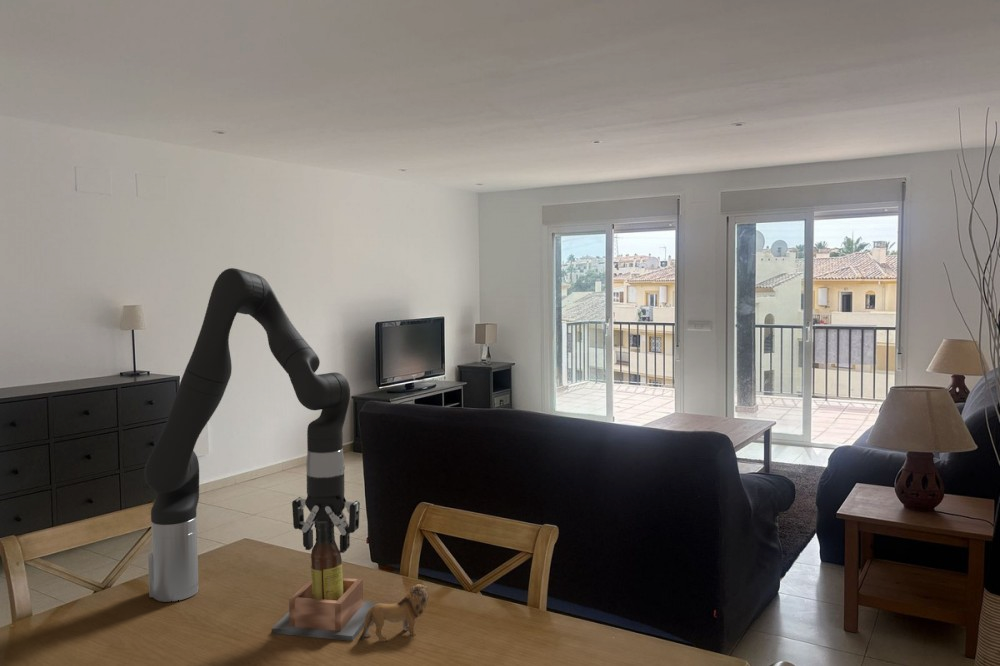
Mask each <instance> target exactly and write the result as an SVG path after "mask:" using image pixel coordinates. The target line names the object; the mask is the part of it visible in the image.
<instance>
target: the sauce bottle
mask: <svg viewBox="0 0 1000 666" xmlns="http://www.w3.org/2000/svg"><path fill="white" fill-rule="evenodd" d="M314 528H315V543H314V544H313V548H311V553H310V555H311V556H310V558H311V559H310V560H311V562H310V563H311V566H310V568H311V569H310V570H311V571H310V572H311V579H312V597H313V599H323V600H335V601H338V599H339V598H340V597H341V596H342V595H343V578H344V577H343V576H344V575H343V559H342V555H341V554H342V553H340V548H339V547H338V544H337V542H336V537H335V525H334V523H333V522H332V521H325V520H322V521H317V519H316V520H315V523H314Z"/></svg>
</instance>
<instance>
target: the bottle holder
mask: <svg viewBox="0 0 1000 666" xmlns="http://www.w3.org/2000/svg"><path fill="white" fill-rule="evenodd" d="M363 581H364V579H361V578H360V579H359V578H348V577H343V595H342V596H341V597H340V598H339V599H338V601H335V600H323V599H313V597H312V578H311V579H309V581H307V582H306V584H304V585H303V586H301V588H300V589H299V590H298V591H297V592H296V593H294V594H293V595H292V596H291V597H290V598H289V599H288V603H289V605H288V606H289V608H288V609H289V611H288V612H287V613H286V614H285V615H283V617H282V618H281V619H280V620H279V621H278V622H276V624H275V625H273V626H272V627H271V634H276V635H286V636H299V637H307V638H308V637H309V638H319V639H327V640H328V639H329V640H339V641H349V642H353V641H354V640H355V639H356V637H357V636H358V635H359V633H360V632H361V631H363V629H364V623H365V618H366V615H367V613H368V611H369V609H370V608H371V607H373V606H374V605H376V604H379V603H380V602H378V601H377V602H376V601H365V600H364V582H363ZM369 618H370V617H369ZM368 621H369V620H368Z"/></svg>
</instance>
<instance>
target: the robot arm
mask: <svg viewBox="0 0 1000 666" xmlns="http://www.w3.org/2000/svg"><path fill="white" fill-rule="evenodd" d="M204 314H205V315H204V318H203V321H202V325H201V328H200V331H199V334H198V336H197V338H196V339H197V340H196V342H195V345H194V347H193V351H192V353H191V354H190V355H191V356H190V357H189V361H187V365H186V366H185V369H184V372H183V375H182V377H181V380H180V382H179V386H178V389H177V391H176V394H175V396H174V400H173V402H172V405H171V408H170V411H169V414H168V416H167V419H166V423H165V426H164V428H163V430H162V433H161V434H160V436H159V438H158V440H157V442H156V444H155V446H154V448H153V450H152V451H151V454H150V455H149V457H148V459H147V461H146V464H145V467H144V471H143V472H144V480H145V483H146V485H147V486H148V488H149V489H150V490H152V492H155V493H156V495H155V499H154V503H153V505H152V507H151V509H150V522H151V523H150V524H151V553H149V554H148V557H147V563H148V564H147V566H148V568H147V569H148V588H149V589H148V592H149V594H148V596H149V598H153V599H154V600H155V601H158V602H163V603H167V602H169V603H171V601H172V602H178V600H179V601H182V600H185V599H189V598H191V597H193V596H195V595H196V594H197V593H198V591H199V561H198V559H199V558H198V556H199V555H198V527H197V525H198V523H197V521H198V520H197V519H198V518H197V508H198V504H199V499H200V466H199V465H200V463H199V458H198V456H197V453H196V452H195V451H194V449H195V448H196V447H195V446H196V443H197V441H198V439H199V437H200V435H201V433H202V431H203V430H204V429H205V427H206V425H207V424H208V422H209V421H210V420H211V418H212V416H213V415H214V413H215V412H216V410H217V408H218V406H219V405H220V403H221V401H222V399H223V397H224V394H225V392H226V389H227V386H228V385H229V381H230V379H231V376H232V368H233V367H232V357H231V356H232V355H231V352H230V345H229V344H230V343H229V340H230V339H229V338H230V333H231V330H232V326H233V322H234V321H235V318H236V316H237V314H243V315H249V316H250V317H252V318H254V320H255V321H256V322H257V323H259V324H260V325H261V326H262V328H263V329H264V331H265V332H266V336H267V337H266V338H267V341H268V342H267V343H268V346H269V350H270V352H271V354H272V355H273V357H274V358H275V360H276V361H277V363H279V365H280V367H282V369H283V370H284V371H285V373H286V374H287V375H288V377H289V379H290V383H291V385H292V387H293V390H294V393H295V396H296V398H297V400H298V402H299V403H300V404H301V405H302V406H303V407H304V408H306V409H308V410H310V411H320V410H321V411H320V415H319V417H317V418H316V419H314V420H312V421H310V423H308V425H307V431H306V432H307V433H306V436H307V438H306V441H307V442H306V443H307V444H306V445H307V447H306V448H307V453H306V463H305V464H306V465H305V466H306V471H305V472H306V496H307V497H306V498H303V497H301V496H299V497H297V498H296V499H293V501H292V502H291V506H292V523H293V529H295V530H299V531H301V532H302V545H303V547H304V550H305V551H310V550H312V549H313V547H314V529H312V528H313V527H314V526H315V524H314V523H315V520H316V519H317V521H322V520H325V521H332V522H333V523H334V527H336V528H337V529H338V531H339V533H340V535H339V551H340V554H344V553H345V552H346V551H348V549H349V548H350V546H351V543H350V541H351V539H350V538H351V537H350V534H354V533H355V532H356V531H357V530H359V528H360V507H361V505H360V504H361V503H360V501H358V500H355V501H347V499H346V497H345V469H346V466H345V456H344V455H345V454H344V449H343V447H344V445H343V443H344V442H343V434H344V433H343V427H344V425H345V421H346V417H347V413H348V409H349V405H350V399H351V388H350V387H351V386H350V383H349V381H348V379H347V378H346V377H345V376H344V374H342V373H341V372H340V373H339V372H328V373H319V374H316V372H317V371H318V369H319V367H320V365H321V364H320V359H319V356H318V354H317V353H316V352H315V351H314V349H313V348H312V347H311V346H310V345H309V343H308V342H307V341H306V340H305V338H304V337H303V336H302V335H301V334H300V333H299V331H298V330H297V328H296V327H295V326H294V324H293V323H292V321H291V319H290V318H289V317H288V315H287V313H286V312H285V310H284V308H283V307H282V305H281V303H280V301H279V299H278V298H277V296H276V294H275V292H274V290H273V289H272V287H271V285H270V284H269V282H268V281H267V280H266V278H264V277H263V276H261V275H259V274H257V273H254V272H249V271H246V270H243V269H239V268H234V267H233V268H232V267H231V268H230V267H229V268H227V269H224V270H223V271H221V273H219V275H218V277H217V278H216V280H215V281H214V284H213V286H212V290H211V293H210V295H209V299H208V304H207V307H206V310H205V313H204ZM305 508H307V509H308V511H309V512H310V513H309V514H308V516H307V518H306V520H305V513H304V509H305ZM345 509H346V510H347V513H348V514H349V515H348V516H349V517H348V521H347V516H346V515H345V513H344V510H345Z"/></svg>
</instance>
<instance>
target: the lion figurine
mask: <svg viewBox="0 0 1000 666" xmlns="http://www.w3.org/2000/svg"><path fill="white" fill-rule="evenodd" d="M409 590H410V591H409V592H408V593H407V594H406V595H405V597H404V598H403V599H401V600H400V601H399V602H396V603H383V602H381V603H380V602H378V603H379V604H376V605H374V606H373V607H371V608H370V609H369V611H368V613H367V615H366V618H365V623H364V627H363V628H362V633H361V635H360V637H359V639H358V640H357V641H358V642H361V641H363V639H364V638H365V637H366V638H369V637H371V634H372V633H371V632H368V631H369V630H370V628H371V627H372V626H373V625H375V628H376V629H375V635H376V637H377V638H378V640H379V641H380V642H386V641H387V636H383V634H382V629H383V626H384V624H385V620H386V621H387V622H389V623H400V622H402V625H403V626H402V628H403V630H404V631H405V632H406V631H408V633H409V635H410V636H412V637H415V636H416V635H417V631H414V629H415V628H414V627H415V624H416V619H417V618H419V617H422V615H423V614H424V612H425V608H426V607H427V605H428V600H429V593H428V587H427V585H424V584H420V583H418V584H415V585H413V586H411V587H410V588H409ZM369 617H370V618H369ZM368 620H369V621H368ZM414 635H415V636H414Z"/></svg>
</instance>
